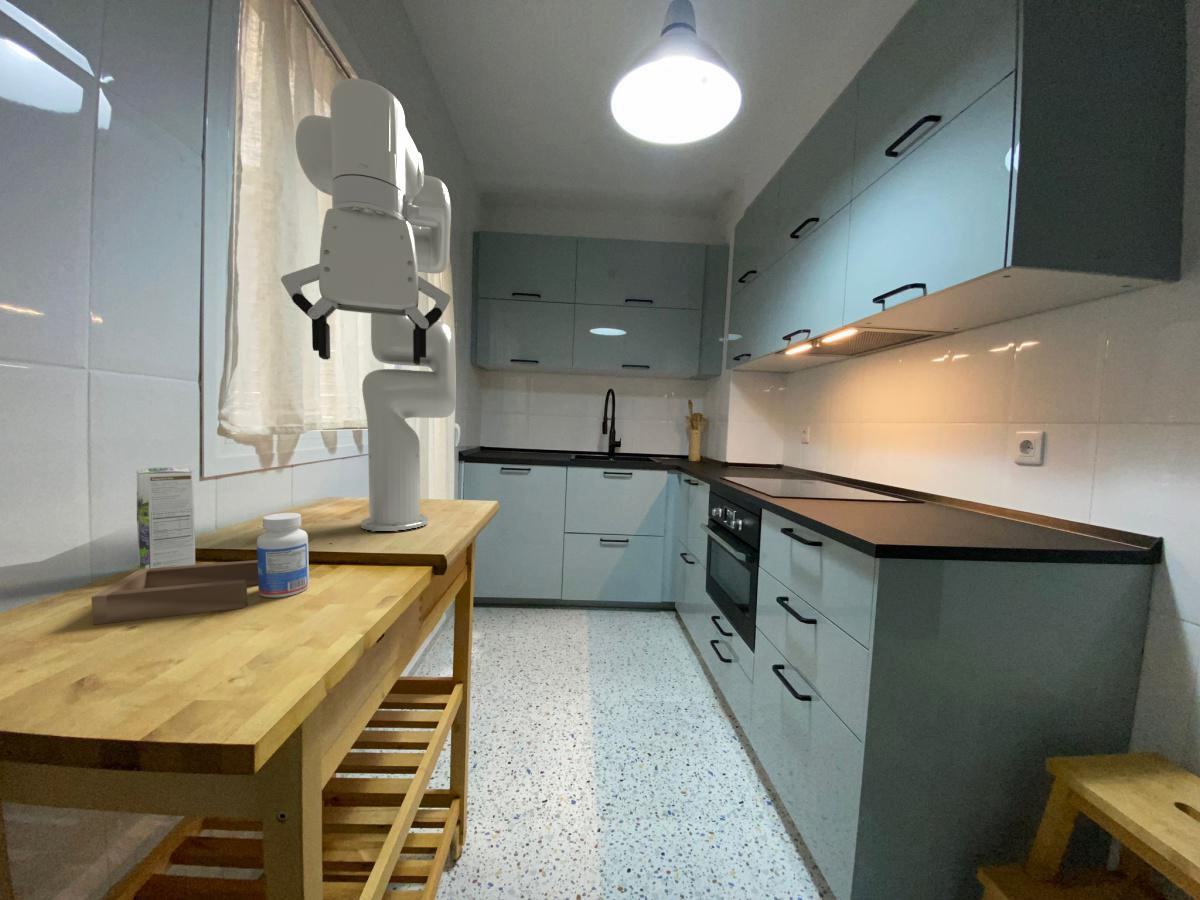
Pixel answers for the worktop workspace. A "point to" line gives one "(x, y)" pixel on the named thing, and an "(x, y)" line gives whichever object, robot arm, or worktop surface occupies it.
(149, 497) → the syrup box
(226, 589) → the cradle
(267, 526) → the pill bottle
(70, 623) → the worktop surface
